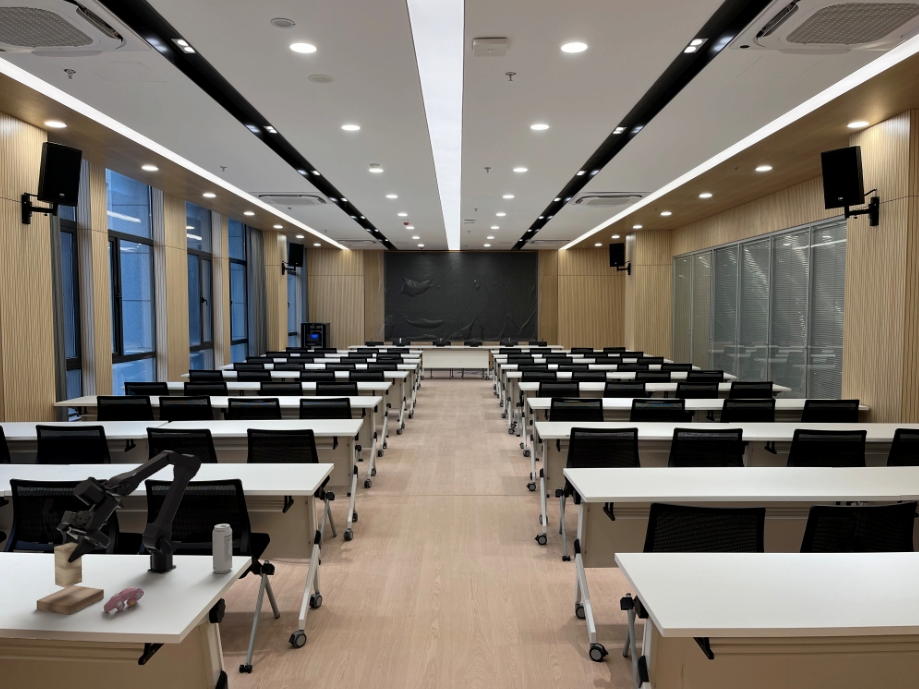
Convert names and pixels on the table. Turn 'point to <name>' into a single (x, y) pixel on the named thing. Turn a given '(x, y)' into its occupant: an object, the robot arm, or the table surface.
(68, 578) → the birch block
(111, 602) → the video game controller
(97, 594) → the walnut base block
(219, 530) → the energy drink can
